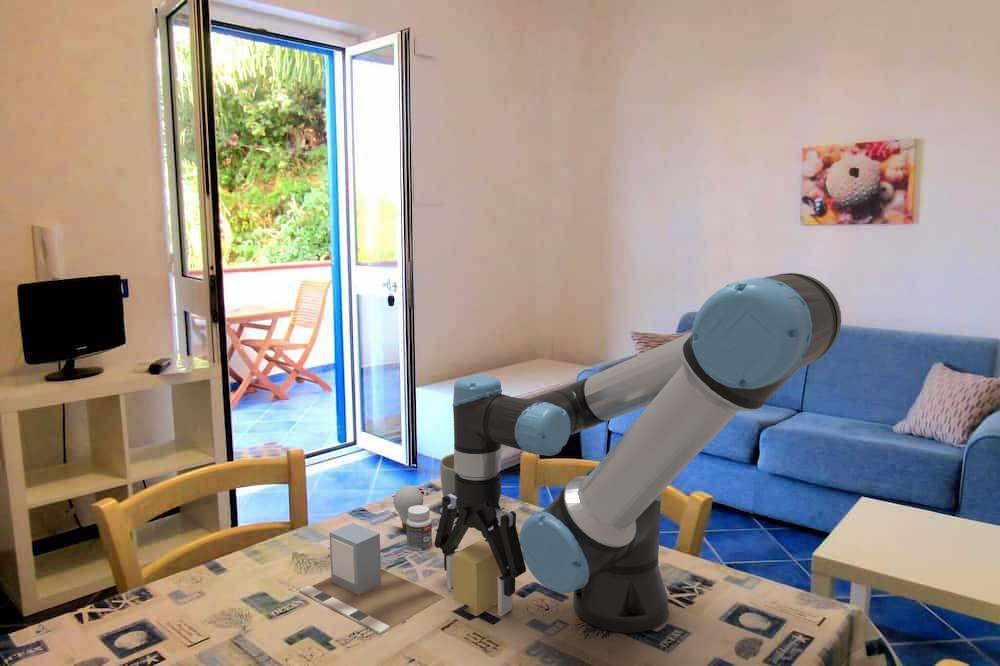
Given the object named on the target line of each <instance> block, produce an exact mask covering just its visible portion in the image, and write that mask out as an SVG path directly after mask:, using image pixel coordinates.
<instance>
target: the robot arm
mask: <svg viewBox="0 0 1000 666" xmlns="http://www.w3.org/2000/svg"><path fill="white" fill-rule="evenodd" d="M841 326H842V311H841V307H840V304H839V302H838V300H837V298H836V296H835V294H834V293H833V292H832V291H831V290H830V289H829V287H828V286H827V285H825V284H824V283H823V282H822V281H820V280H818V279H816V278H814V277H812V276H809V275H805V274H803V273H797V272H788V273H786V272H785V273H779V274H774V275H770V276H765V277H750V278H745V279H740V280H736V281H734V282H732V283H730V284H727V285H725V286H724V287H723V288H721V289H719V290H717V291H716V292H714V293H713V294H711V296H710V297H708V298H707V299H706V300H705V301H704V302H703V303H702V304H701V307H700V308H699V309H698V311H697V313H696V316H695V318H694V320H693V324H692V328H691V332H688V333H686V334H684V335H682V336H678V337H677V338H675V339H673V340H671V341H668V342H666V343H663V344H661V345H659V346H657V347H655V348H651V349H649V350H647V351H645V352H643V353H641V354H637V355H636V356H634V357H632V358H630V359H627V360H625V361H622V362H619V363H618V364H615V365H613V366H611V367H609V368H606V369H603V370H601V371H600V372H599V371H598V372H597V373H595V374H593V375H591V376H588V377H585V378H583V379H581V380H578V381H577V382H574V383H572V384H569V385H566V386H564V387H562V388H558V389H555V390H551V391H548V392H545V393H542V394H537V395H536V396H535V395H534V396H533V397H532V396H531V397H529V398H523V397H515V396H510V395H508V394H504V393H503V389H502V383H501V380H500V379H498V378H496V377H495V376H492V375H482V374H477V375H474V374H473V375H468V376H464V377H460V378H458V379H457V380H456V381H455V382H454V386H453V398H452V401H453V403H452V411H453V439H454V440H453V444H454V445H453V447H454V448H453V454H454V471H455V472H456V474H455V476H454V485H455V493H451V494H449V495H447V496H444V497H443V496H442V498H441V505H442V511H441V515H440V519H439V521H438V526H437V530H436V535H435V538H434V543H433V545H434V547H435V548H436V549H440V550H441V552H442V554H443V564H444V565H443V569H444V571H446V588H448V589H452V588H453V554H455V553H456V552H458V551H459V550H457V549H460V544H461V541H462V540H463V539H464V536H465V535H466V533H467V532H468V530H469V528H470V529H475V530H477V531H478V532H480V533H481V536H482V537H483V538H484V539H487V541H488V543H489V546H490V548H491V550H492V553H493V555H494V558H495V560H496V562H497V565H498V567H499V569H500V572H501V575H500V576H498V603H497V615H498V616H500V617H503V616H504V615H506V614H507V613H509V612H510V611H512V610H513V595H514V594H515V593H516V578H518V577H519V576H520V577H521V576H522V574H525V573H526V572H527V569H528V570H529V571H530V573H531V574H532V576H533V577H534V578H535V579H536V580H537V581H538V582H539V583H540V584H541V585H542V586H544V587H545V588H547V589H549V590H550V591H554V592H556V593H559V594H569V593H572V592H573V609H574V611H575V613H576V614H577V615H578V617H580V619H581V620H582V621H584V622H585V623H587V624H589V625H591V626H593V627H595V628H598V629H601V630H604V631H608V632H615V633H623V634H625V633H626V634H627V633H634V634H635V633H641V632H646V631H650V630H653V629H655V628H657V627H659V626H661V625H662V624H663V623H664V622H665V621H666V619H667V617H668V615H669V596H668V593H667V590H666V587H665V584H664V579H663V576H662V573H661V569H660V566H659V553H660V530H661V529H660V528H661V527H660V526H661V503H662V500H663V499H662V497H661V494H662V493H663V492H664V491H665V489H667V487H669V486H670V484H671V483H673V481H674V480H675V479H676V478H677V477H678V476H679V475H680V474H681V473H682V472H683V471H684V470H685V468H686V467H688V466H689V465H690V463H691V462H692V461H694V459H695V458H696V457H697V456H698V455H699V454H700V453H701V452H702V451H703V449H704V448H705V447H706V446H707V445H708V444H709V443H710V442H712V440H713V439H714V438H715V437H716V436H717V434H719V432H721V431H722V430H723V428H724V427H725V426H726V425H728V423H729V422H730V421H731V420H732V419H733V418H734V417H735V415H737V413H738V412H741V411H742V412H743V411H744V412H755V411H758V410H759V409H761V408H762V407H763V406H764V404H765V403H767V401H768V400H769V399H771V398H772V397H773V396H774V394H776V392H778V391H779V390H780V388H781V387H783V385H785V383H786V382H788V380H789V379H790V378H791V377H792V376H793V375H794V374H795V373H797V372H798V370H800V369H802V368H804V367H806V366H808V365H810V364H812V363H814V362H816V361H818V360H819V359H821V358H822V357H824V356H825V355H826V354H828V353H829V351H830V350H831V349H832V348H833V346H834V345H835V343H836V341H837V340H838V338H839V335H840V332H841V328H842V327H841ZM502 393H503V394H502ZM644 408H645V409H644ZM640 409H644V410H643V411H642V413H640V415H639V416H637V418H636V420H634V422H633V423H632V424H631V425H630V426H629V428H628V429H627V430H626V431H625V432H624V433H623V435H622V436H620V438H619V440H617V441H616V443H615V444H614V445H613V446H612V447H611V449H610V450H609V451H608V452H607V453H606V454H605V456H604V457H603V458H602V460H601V461H600V462H599V463H597V465H596V466H593V467H591V468H589V469H588V470H587V471H586V475H579V476H576V477H574V478H572V479H571V480H570V481H569V482H568V483H566V485H565V486H564V488H562V490H561V491H560V492H559V493H558V494H557V496H556V497H555V498H554V500H552V502H551V503H550V504H549V505H547V507H545V508H544V509H542V510H539V511H535V512H534V513H532V514H531V515H530V516H529V517H528V518H526V520H525V521H524V523H523V524H522V526H521V530H520V534H519V535H518V529H517V514H516V512H515V511H514V510H512V511H509V512H508V511H504V510H502V509H501V506H500V502H499V501H500V498H501V495H502V474H501V473H500V471H501V470H502V446H506V447H510V448H514V449H517V450H521V451H524V452H526V453H528V454H533V455H541V456H546V457H548V456H549V457H550V456H555V455H557V454H560V452H561V451H562V449H563V447H565V446H566V445H567V443H568V441H569V438H570V436H571V435H574V434H577V433H579V432H582V431H585V430H589V429H591V428H594V427H597V426H598V425H601V424H604V423H606V422H608V421H610V420H613V419H615V418H618V417H621V416H624V415H626V414H629V413H632V412H634V411H638V410H640ZM457 508H458V510H459V512H460V514H459V515H458V517H457V519H456V515H457V513H456V512H457ZM455 519H456V521H455ZM454 525H455V526H454ZM492 527H493V528H492ZM491 528H492V529H491ZM489 529H490V530H489Z"/></svg>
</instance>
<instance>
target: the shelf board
mask: <svg viewBox="0 0 1000 666" xmlns="http://www.w3.org/2000/svg"><path fill="white" fill-rule="evenodd" d="M298 593H300V594H302V595H304V596H306V597H308V598H309V599H311V600H313V601H314V602H316V603H319V604H320V605H322V606H324V607H326V608H328V609H330V610H332V611H334V612H336V613H338V614H339V615H341V616H343V617H345V618H347V619H349V620H351V621H353V622H355V623H357V624H359V625H360V626H362V627H364V628H366V629H368V630H370V631H372V632H374V633H375V634H378V635H379V636H380V635H383V634H385V633H386V632H387V631H390V630H391V629H393V628H395V627H396V626H398V625H400V624H402V623H403V622H405V621H407V620H408V619H410V618H412V617H414V616H415V615H417V614H419V613H420V612H423V611H424V610H425V609H428V608H429V607H431V606H433V605H434V604H437V602H439V601H441V600H443V599H444V598H445V596H444V595H441V594H438V593H437V592H434V591H433V590H430V589H427V588H425V587H423V586H421V585H418V584H416V583H414V582H412V581H409V580H407V579H405V578H403V577H401V576H398V575H396V574H394V573H392V572H389V571H387V570H385V569H382V568H381V584H379V585H377V586H375V587H374V588H372V589H370V590H368V591H366V592H364V593H362V594H360V595H357V594H355V593H353V592H351V591H349V590H347V589H345V588H343V587H341V586H339V585H337V584H335V583H332V580H331V576H329V577H328V578H326V579H324V580H322V581H319V582H318V583H316V584H313V585H310V584H308V585H307V586H304V587H302V588H300V589H299V590H298Z"/></svg>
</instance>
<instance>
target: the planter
mask: <svg viewBox="0 0 1000 666" xmlns="http://www.w3.org/2000/svg"><path fill="white" fill-rule="evenodd" d="M439 470H440V471H439V473H440V481H441V482H440V483H441V491H442V498H443V497H444V496H447V495H449V494H451V493H455V485H454V476H455V474H456V472H455V471H454V453H451V454H447V455H445V456H444V457H442V458H441V459H440V461H439ZM456 514H459V515H460V512H459V510H458V508H457V512H456Z"/></svg>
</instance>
